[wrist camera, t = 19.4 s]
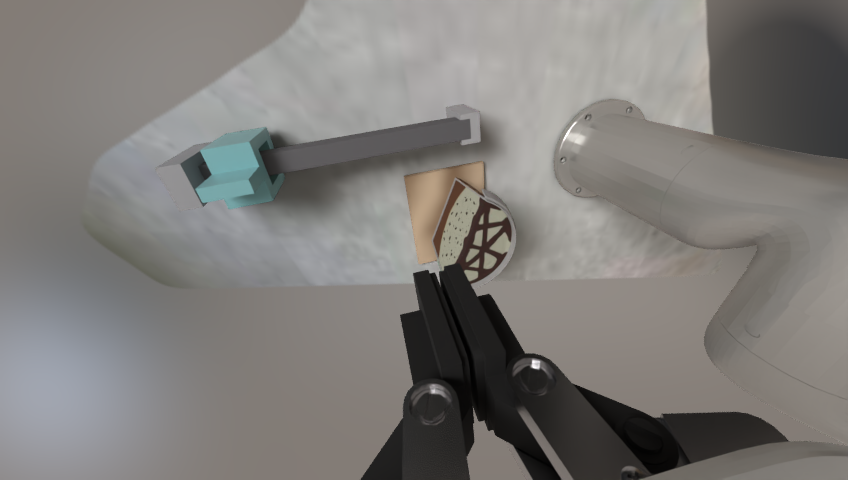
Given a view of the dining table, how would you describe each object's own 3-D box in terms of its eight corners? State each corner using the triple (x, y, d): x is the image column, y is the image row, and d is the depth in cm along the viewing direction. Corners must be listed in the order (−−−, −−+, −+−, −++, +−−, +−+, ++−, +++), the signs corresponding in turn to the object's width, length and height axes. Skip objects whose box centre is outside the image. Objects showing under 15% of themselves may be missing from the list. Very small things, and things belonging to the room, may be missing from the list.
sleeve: (266, 127, 33) (236, 152, 24) (285, 178, 35) (264, 216, 27) (225, 133, 32) (180, 162, 24) (248, 184, 35) (215, 226, 27)
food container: (467, 257, 47) (493, 302, 38) (427, 249, 45) (446, 295, 36) (502, 177, 41) (541, 209, 33) (459, 165, 39) (489, 196, 31)
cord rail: (462, 99, 36) (488, 109, 29) (464, 135, 38) (489, 152, 32) (194, 145, 33) (154, 168, 26) (212, 181, 35) (179, 211, 29)
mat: (481, 161, 40) (483, 162, 40) (484, 247, 47) (486, 249, 47) (403, 175, 39) (404, 177, 39) (418, 261, 46) (419, 264, 46)
